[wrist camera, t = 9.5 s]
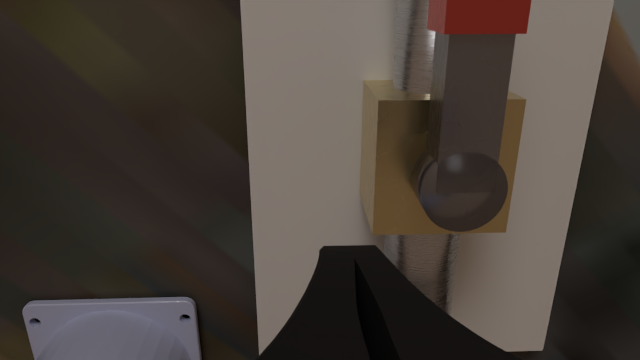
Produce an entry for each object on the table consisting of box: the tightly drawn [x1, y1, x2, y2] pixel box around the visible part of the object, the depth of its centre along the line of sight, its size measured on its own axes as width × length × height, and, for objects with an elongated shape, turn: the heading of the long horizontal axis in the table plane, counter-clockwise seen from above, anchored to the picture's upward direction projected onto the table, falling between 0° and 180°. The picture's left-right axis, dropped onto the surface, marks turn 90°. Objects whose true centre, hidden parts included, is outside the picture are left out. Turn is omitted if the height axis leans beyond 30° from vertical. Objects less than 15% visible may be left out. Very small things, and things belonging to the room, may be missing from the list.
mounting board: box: [240, 0, 614, 355], centre depth 21 cm, size 22×14×1 cm, turn 0°
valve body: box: [360, 0, 527, 316], centre depth 18 cm, size 18×5×4 cm, turn 0°
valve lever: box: [412, 0, 531, 232], centre depth 14 cm, size 10×3×2 cm, turn 0°
